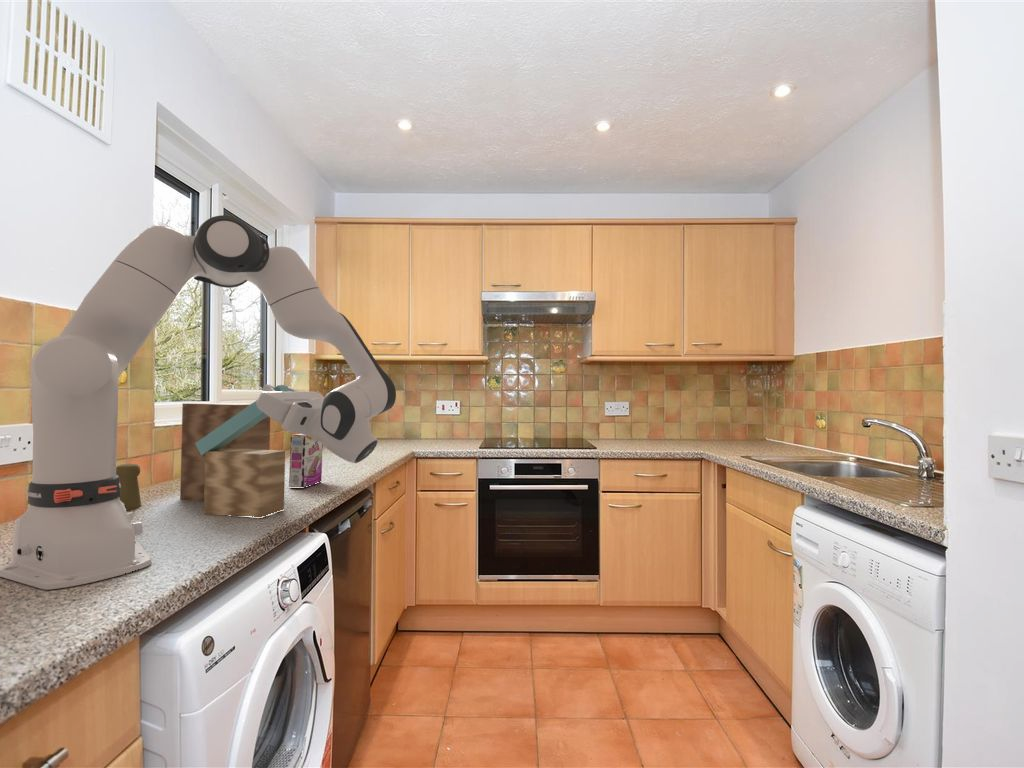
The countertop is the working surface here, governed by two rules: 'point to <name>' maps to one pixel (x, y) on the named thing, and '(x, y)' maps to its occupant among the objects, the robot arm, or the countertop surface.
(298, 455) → the candy bar box
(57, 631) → the countertop surface
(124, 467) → the cork
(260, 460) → the oak block
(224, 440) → the teal bar
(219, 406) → the walnut stand
